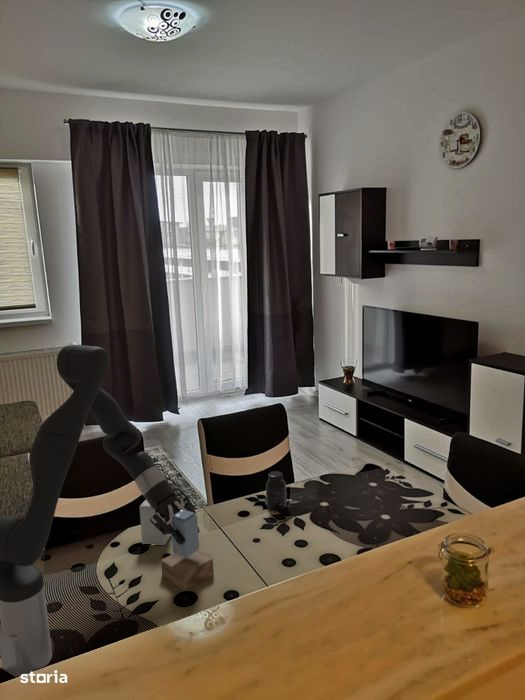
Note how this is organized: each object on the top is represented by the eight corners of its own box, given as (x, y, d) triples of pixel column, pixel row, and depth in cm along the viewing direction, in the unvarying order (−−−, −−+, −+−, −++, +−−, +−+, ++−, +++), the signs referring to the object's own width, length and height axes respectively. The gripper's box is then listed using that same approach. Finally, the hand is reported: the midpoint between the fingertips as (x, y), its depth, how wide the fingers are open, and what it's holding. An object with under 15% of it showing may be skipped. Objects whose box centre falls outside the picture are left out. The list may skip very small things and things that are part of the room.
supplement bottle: (263, 505, 194) (262, 472, 192) (281, 500, 197) (279, 468, 195) (272, 513, 188) (270, 479, 186) (290, 508, 191) (289, 475, 189)
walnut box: (183, 591, 147) (182, 574, 146) (162, 576, 154) (160, 560, 153) (213, 575, 154) (212, 558, 153) (191, 562, 161) (190, 545, 160)
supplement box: (164, 546, 169) (161, 507, 167) (141, 545, 171) (138, 506, 169) (173, 534, 176) (170, 496, 174) (151, 533, 178) (148, 495, 176)
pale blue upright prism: (186, 557, 149) (184, 520, 147) (172, 552, 152) (170, 515, 150) (199, 548, 153) (196, 512, 151) (185, 544, 156) (182, 508, 154)
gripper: (141, 489, 148) (179, 543, 143) (178, 470, 159) (214, 520, 155) (129, 504, 151) (165, 557, 147) (166, 484, 163) (200, 533, 159)
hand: (190, 538), depth 151 cm, fingers closed on pale blue upright prism, 5 cm apart
